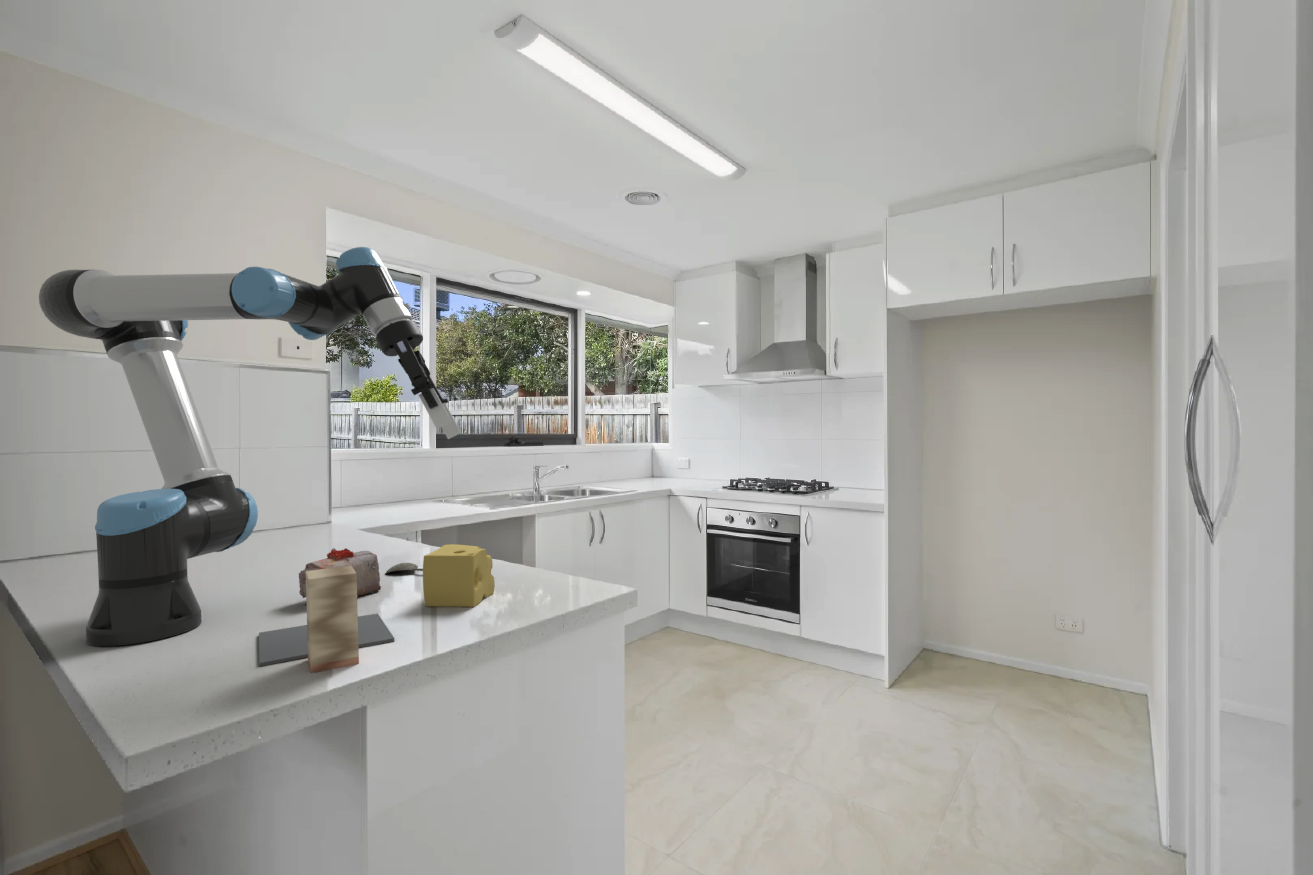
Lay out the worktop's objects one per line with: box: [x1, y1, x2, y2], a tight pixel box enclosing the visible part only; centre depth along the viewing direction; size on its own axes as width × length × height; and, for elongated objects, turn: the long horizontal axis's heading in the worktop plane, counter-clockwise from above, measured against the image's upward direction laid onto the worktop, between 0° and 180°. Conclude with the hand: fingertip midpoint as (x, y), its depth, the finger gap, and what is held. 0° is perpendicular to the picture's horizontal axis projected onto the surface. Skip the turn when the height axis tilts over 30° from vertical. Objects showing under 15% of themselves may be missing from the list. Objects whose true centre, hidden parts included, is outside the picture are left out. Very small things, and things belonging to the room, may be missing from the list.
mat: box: [258, 613, 395, 667], centre depth 101 cm, size 18×16×1 cm
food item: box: [298, 547, 382, 599], centre depth 126 cm, size 14×8×10 cm, turn 150°
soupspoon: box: [384, 562, 423, 575], centre depth 144 cm, size 22×3×7 cm
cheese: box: [422, 543, 495, 608], centre depth 123 cm, size 10×11×10 cm
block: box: [305, 566, 360, 674], centre depth 91 cm, size 6×6×13 cm
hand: (449, 430), depth 114 cm, fingers open, 13 cm apart
